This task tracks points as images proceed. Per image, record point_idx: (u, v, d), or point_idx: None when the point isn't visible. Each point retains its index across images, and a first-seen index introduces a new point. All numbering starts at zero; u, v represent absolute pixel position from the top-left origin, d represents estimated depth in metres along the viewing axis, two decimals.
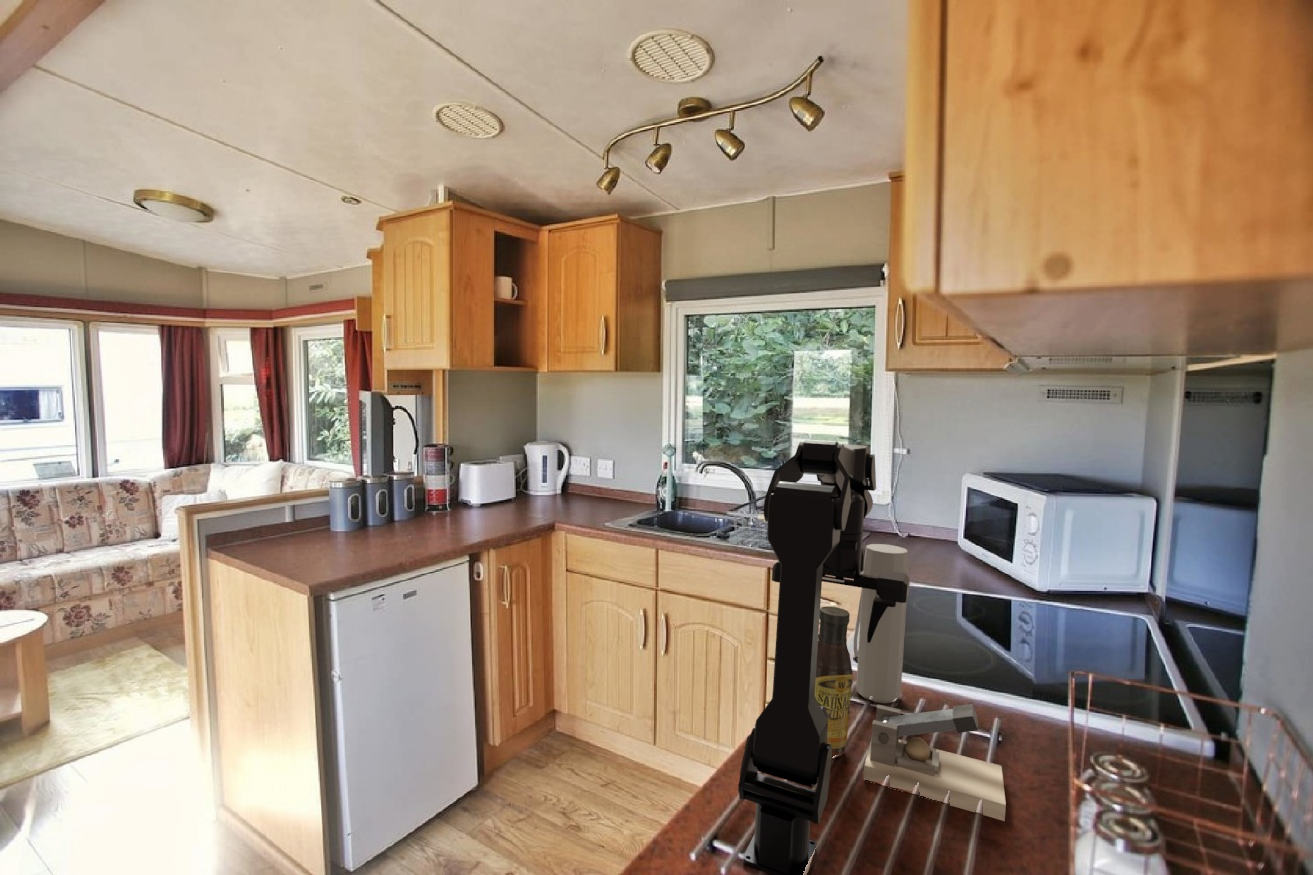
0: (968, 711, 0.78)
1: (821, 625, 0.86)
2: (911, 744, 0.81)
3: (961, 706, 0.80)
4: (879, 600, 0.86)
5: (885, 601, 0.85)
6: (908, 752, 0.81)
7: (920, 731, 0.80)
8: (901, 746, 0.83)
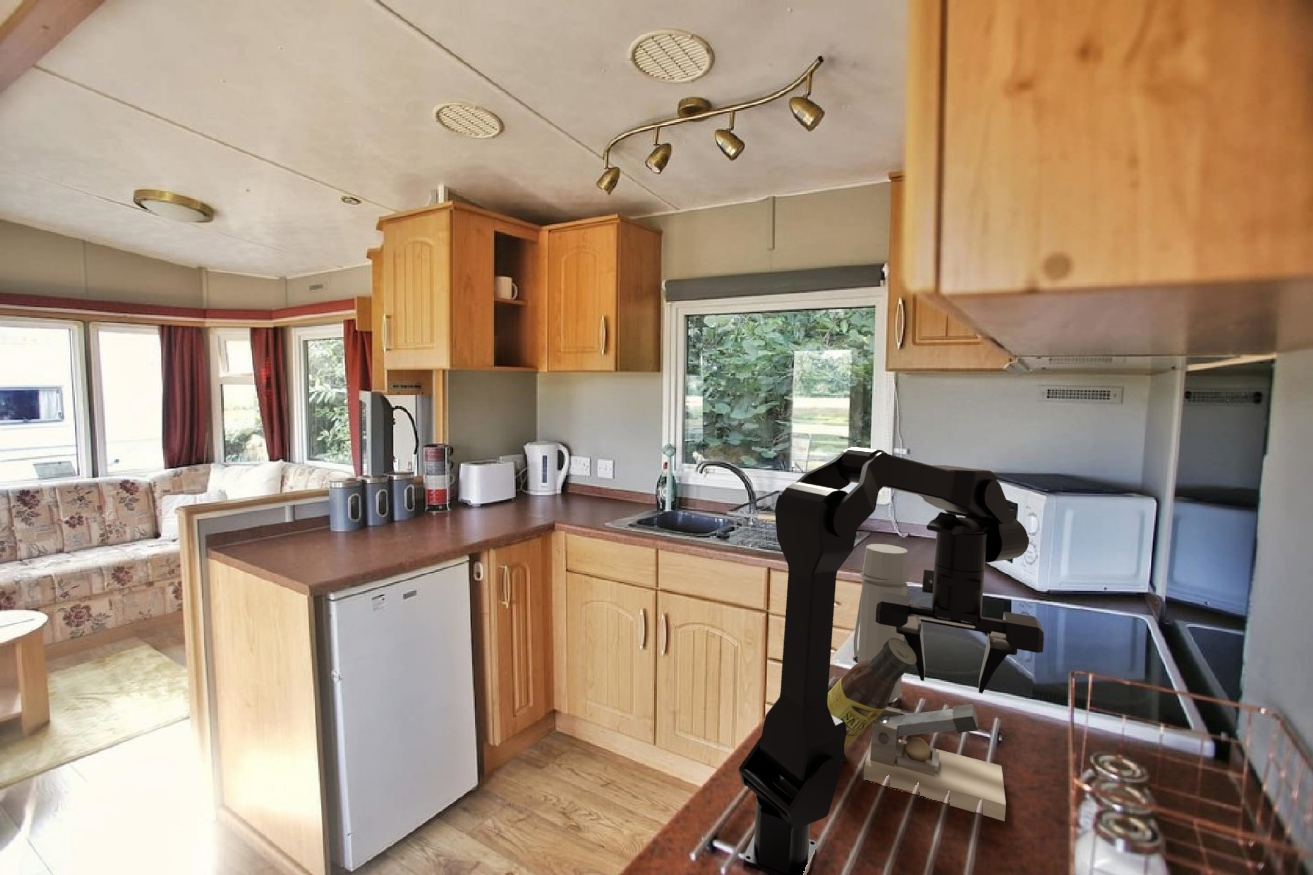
0: (968, 711, 0.78)
1: (882, 659, 0.78)
2: (911, 744, 0.81)
3: (961, 706, 0.80)
4: (996, 646, 0.75)
5: (1004, 648, 0.74)
6: (908, 752, 0.81)
7: (920, 731, 0.80)
8: (901, 746, 0.83)
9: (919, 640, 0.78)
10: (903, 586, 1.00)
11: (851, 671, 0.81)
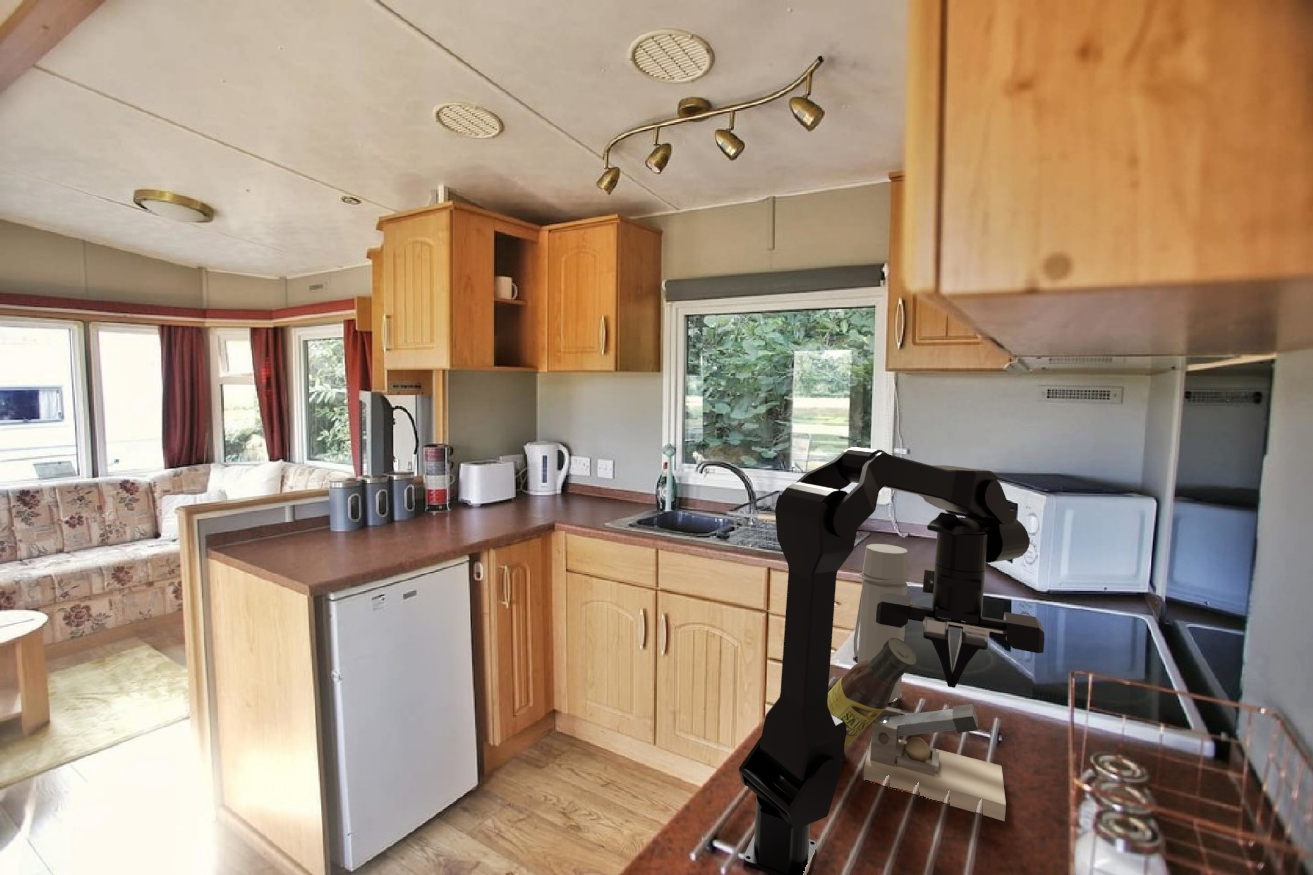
0: (968, 711, 0.78)
1: (882, 659, 0.78)
2: (911, 744, 0.81)
3: (961, 706, 0.80)
4: (967, 641, 0.76)
5: (975, 642, 0.76)
6: (908, 752, 0.81)
7: (920, 731, 0.80)
8: (901, 746, 0.83)
9: (947, 645, 0.77)
10: (903, 586, 1.00)
11: (851, 671, 0.81)
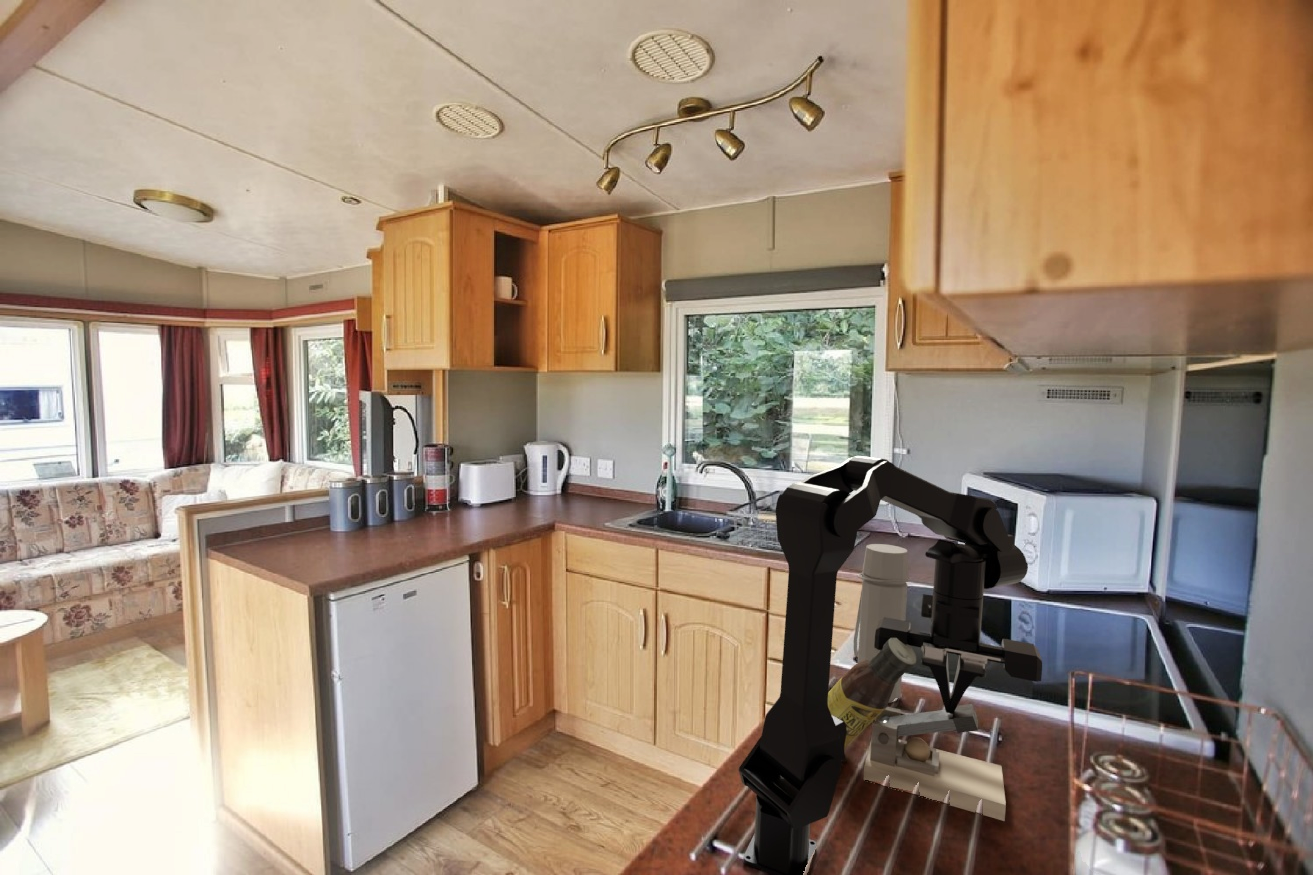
0: (968, 711, 0.78)
1: (882, 659, 0.78)
2: (911, 744, 0.81)
3: (961, 706, 0.80)
4: (966, 668, 0.76)
5: (973, 670, 0.76)
6: (908, 752, 0.81)
7: (920, 731, 0.80)
8: (901, 746, 0.83)
9: (945, 672, 0.77)
10: (903, 586, 1.00)
11: (851, 671, 0.81)
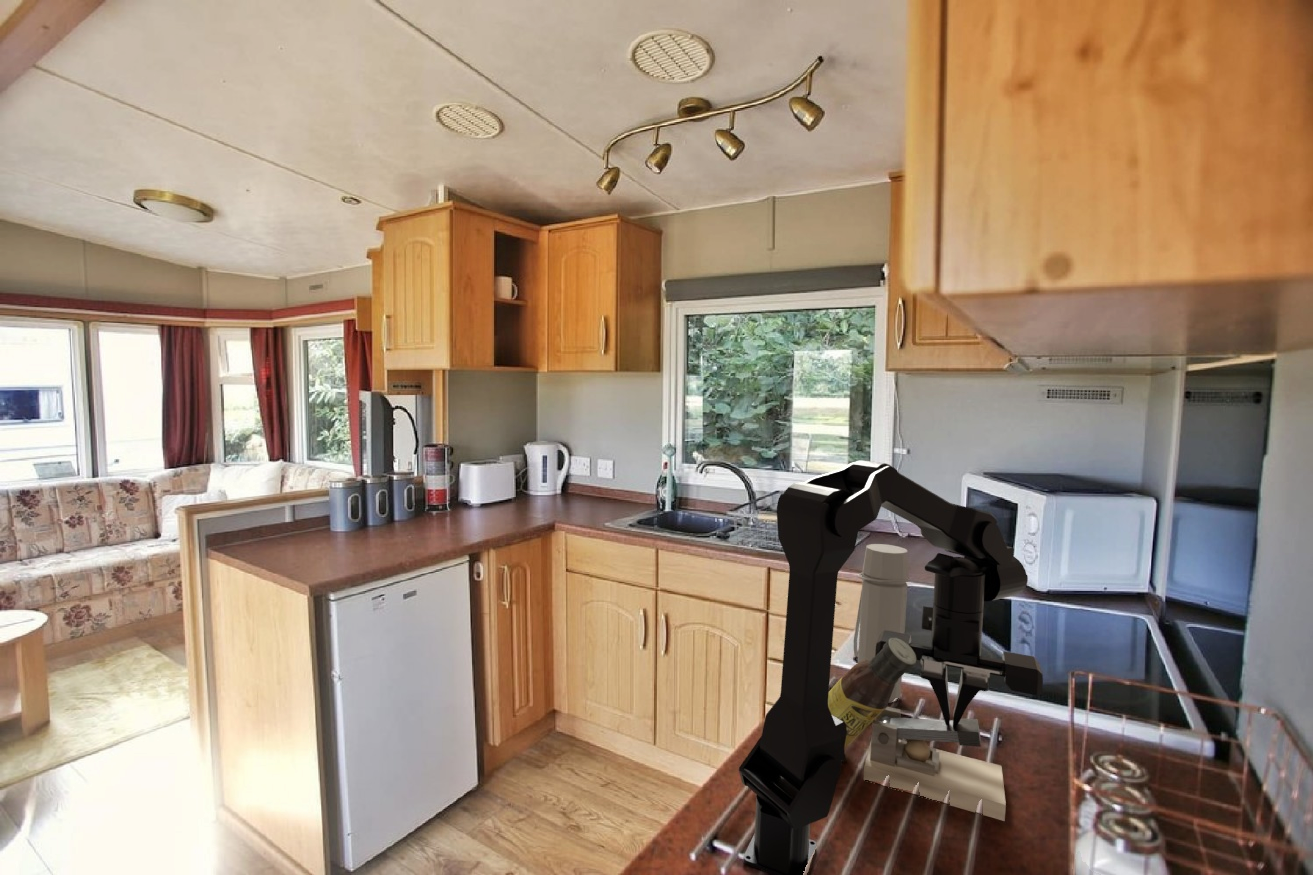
0: (973, 726, 0.78)
1: (882, 659, 0.78)
2: (911, 744, 0.81)
3: (966, 720, 0.80)
4: (968, 682, 0.76)
5: (976, 684, 0.76)
6: (908, 752, 0.81)
7: (921, 737, 0.80)
8: (901, 746, 0.83)
9: (944, 686, 0.77)
10: (903, 586, 1.00)
11: (851, 671, 0.81)
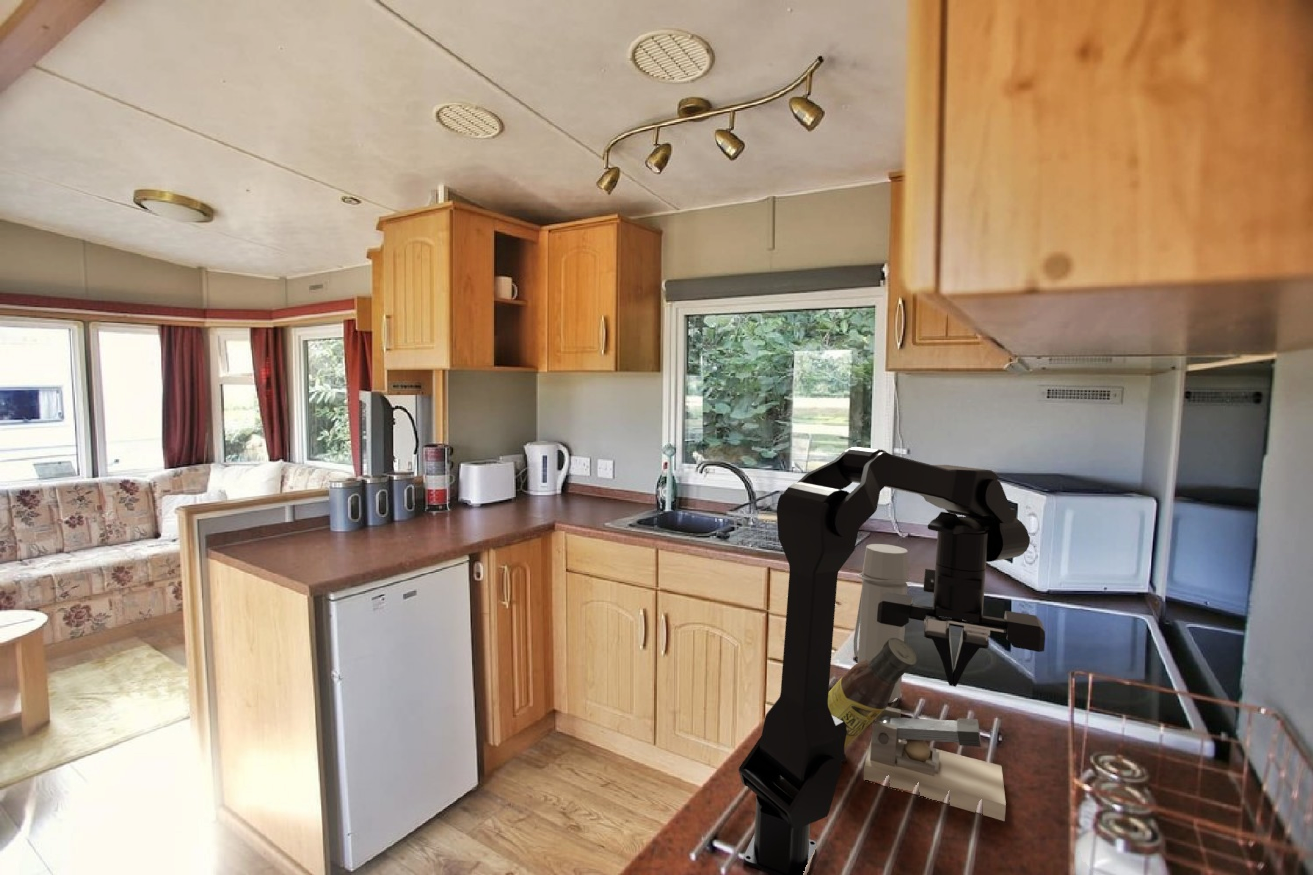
0: (973, 726, 0.78)
1: (882, 659, 0.78)
2: (911, 744, 0.81)
3: (966, 720, 0.80)
4: (968, 640, 0.76)
5: (976, 641, 0.76)
6: (908, 752, 0.81)
7: (921, 737, 0.80)
8: (901, 746, 0.83)
9: (948, 644, 0.77)
10: (903, 586, 1.00)
11: (851, 671, 0.81)
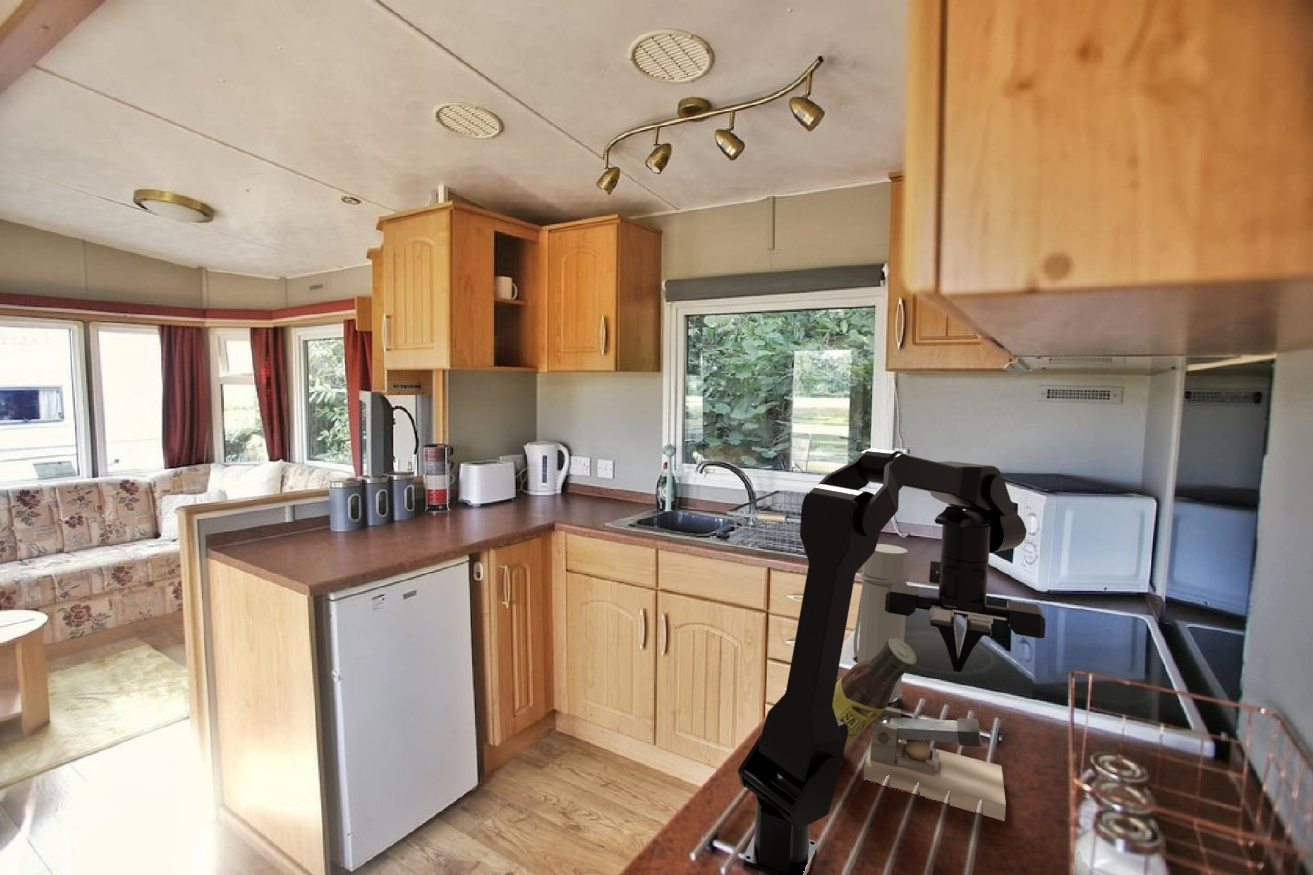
0: (973, 726, 0.78)
1: (882, 659, 0.78)
2: (911, 744, 0.81)
3: (966, 720, 0.80)
4: (972, 628, 0.80)
5: (979, 629, 0.80)
6: (908, 752, 0.81)
7: (921, 737, 0.80)
8: (901, 746, 0.83)
9: (953, 632, 0.81)
10: None
11: (851, 671, 0.81)
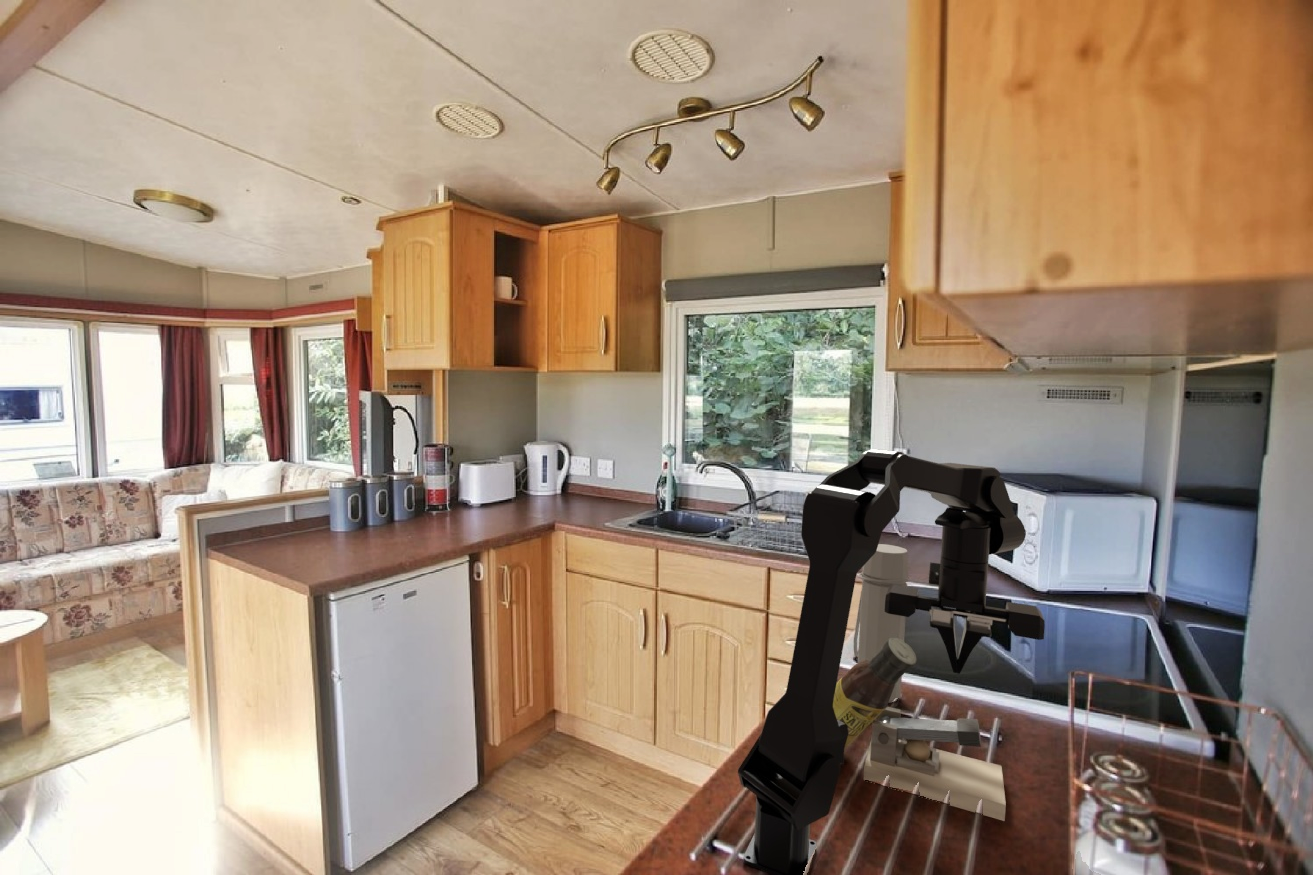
0: (973, 726, 0.78)
1: (882, 659, 0.78)
2: (911, 744, 0.81)
3: (966, 720, 0.80)
4: (972, 629, 0.80)
5: (979, 630, 0.80)
6: (908, 752, 0.81)
7: (921, 737, 0.80)
8: (901, 746, 0.83)
9: (952, 633, 0.81)
10: None
11: (851, 671, 0.81)
